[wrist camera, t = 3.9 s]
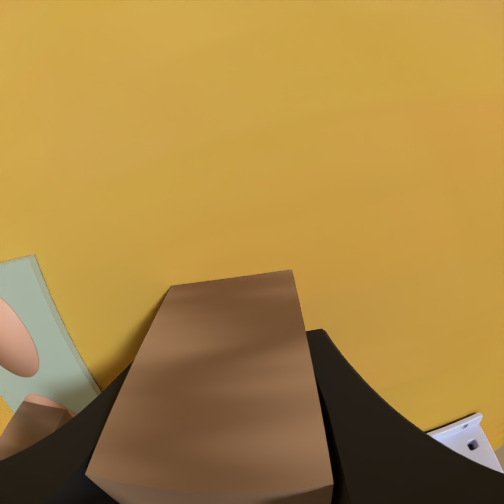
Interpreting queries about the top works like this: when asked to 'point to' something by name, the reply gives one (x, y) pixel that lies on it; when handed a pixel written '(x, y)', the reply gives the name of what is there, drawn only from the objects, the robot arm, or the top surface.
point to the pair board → (37, 345)
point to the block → (30, 427)
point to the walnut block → (219, 403)
